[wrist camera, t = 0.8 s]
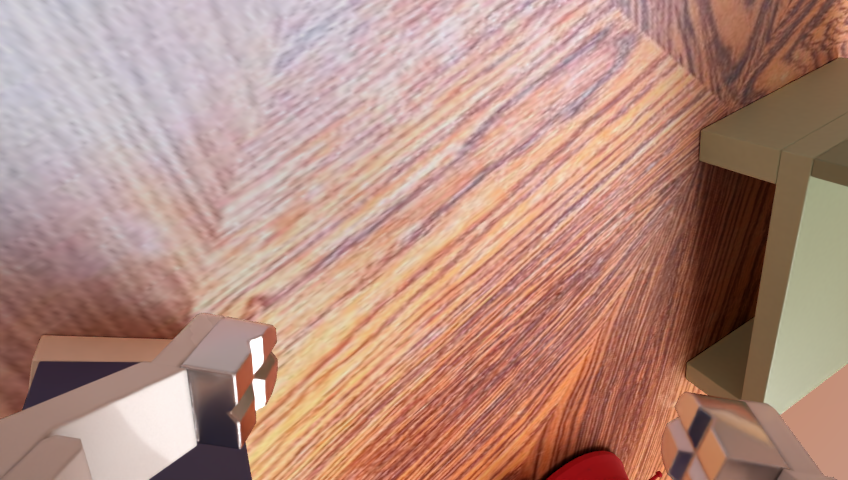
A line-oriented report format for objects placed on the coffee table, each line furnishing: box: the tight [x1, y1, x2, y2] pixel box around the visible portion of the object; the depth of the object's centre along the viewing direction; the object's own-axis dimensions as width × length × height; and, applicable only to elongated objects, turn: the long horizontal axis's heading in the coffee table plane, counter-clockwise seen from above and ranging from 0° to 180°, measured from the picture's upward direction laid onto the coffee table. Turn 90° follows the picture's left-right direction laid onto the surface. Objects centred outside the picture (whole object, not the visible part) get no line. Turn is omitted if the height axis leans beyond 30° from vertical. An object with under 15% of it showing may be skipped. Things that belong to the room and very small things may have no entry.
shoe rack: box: [686, 58, 848, 415], centre depth 32 cm, size 22×12×8 cm, turn 17°
